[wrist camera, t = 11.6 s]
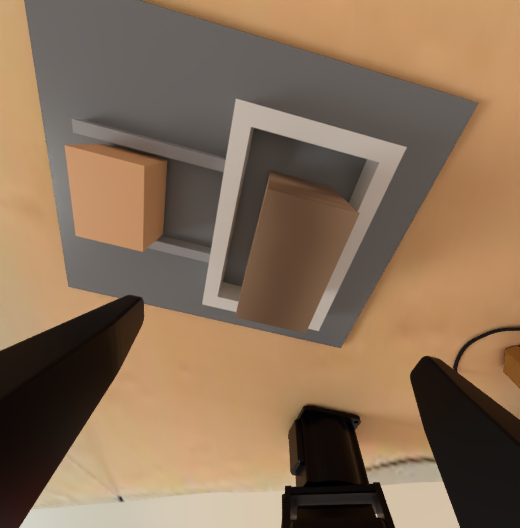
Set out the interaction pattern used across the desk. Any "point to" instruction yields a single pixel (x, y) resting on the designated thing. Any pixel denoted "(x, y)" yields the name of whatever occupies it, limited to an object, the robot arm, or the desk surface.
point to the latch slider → (116, 194)
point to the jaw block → (294, 251)
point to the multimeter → (515, 360)
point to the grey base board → (231, 149)
